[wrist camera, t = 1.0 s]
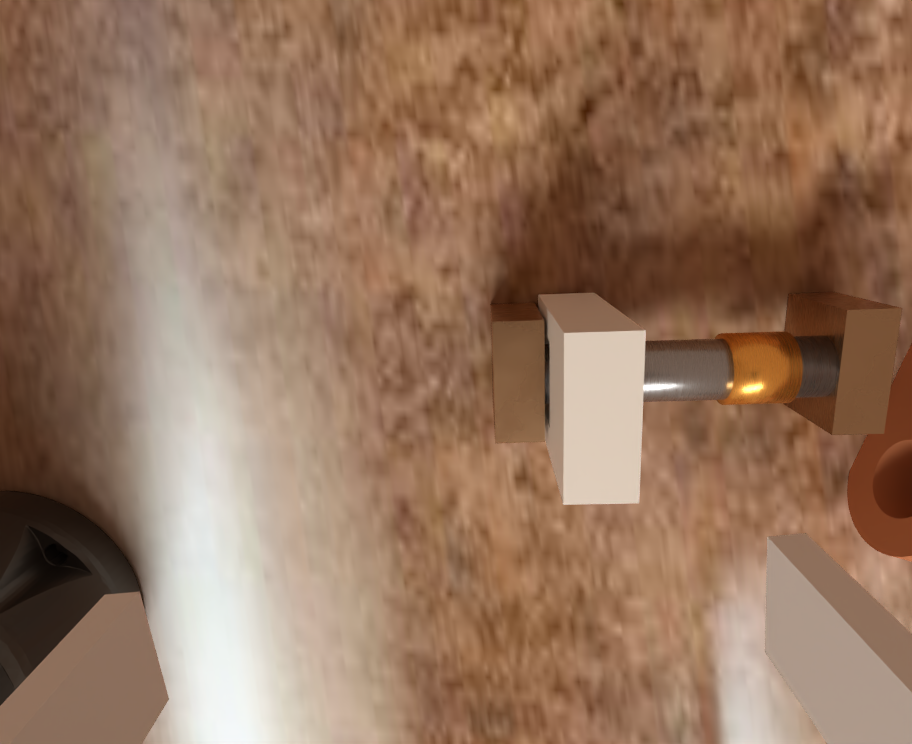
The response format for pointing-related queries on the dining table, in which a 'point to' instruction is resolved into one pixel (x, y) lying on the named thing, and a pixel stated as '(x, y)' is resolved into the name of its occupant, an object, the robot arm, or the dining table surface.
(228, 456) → the dining table surface
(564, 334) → the sleeve
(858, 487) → the crank
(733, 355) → the pipe rig
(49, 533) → the robot arm
